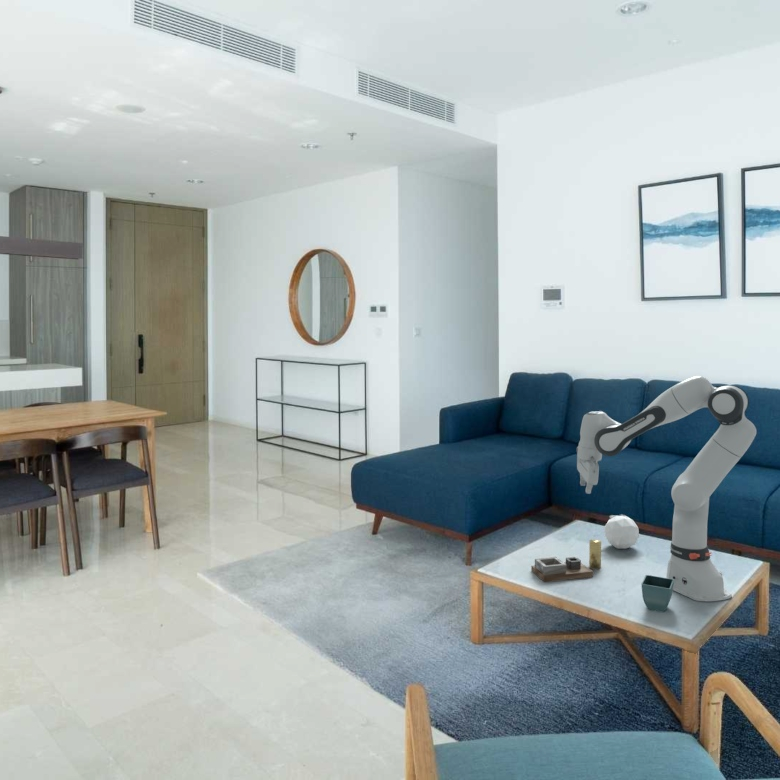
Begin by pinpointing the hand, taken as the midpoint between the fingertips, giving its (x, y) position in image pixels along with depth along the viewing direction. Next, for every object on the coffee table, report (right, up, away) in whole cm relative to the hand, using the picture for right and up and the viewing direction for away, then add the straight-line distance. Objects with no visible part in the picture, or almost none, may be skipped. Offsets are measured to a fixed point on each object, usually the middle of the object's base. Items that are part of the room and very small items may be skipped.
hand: (585, 489), depth 259 cm
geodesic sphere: (+20, -27, +20) cm, 39 cm away
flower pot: (+13, -33, -37) cm, 52 cm away
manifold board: (-11, -30, -7) cm, 33 cm away
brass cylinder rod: (+3, -29, -1) cm, 29 cm away
